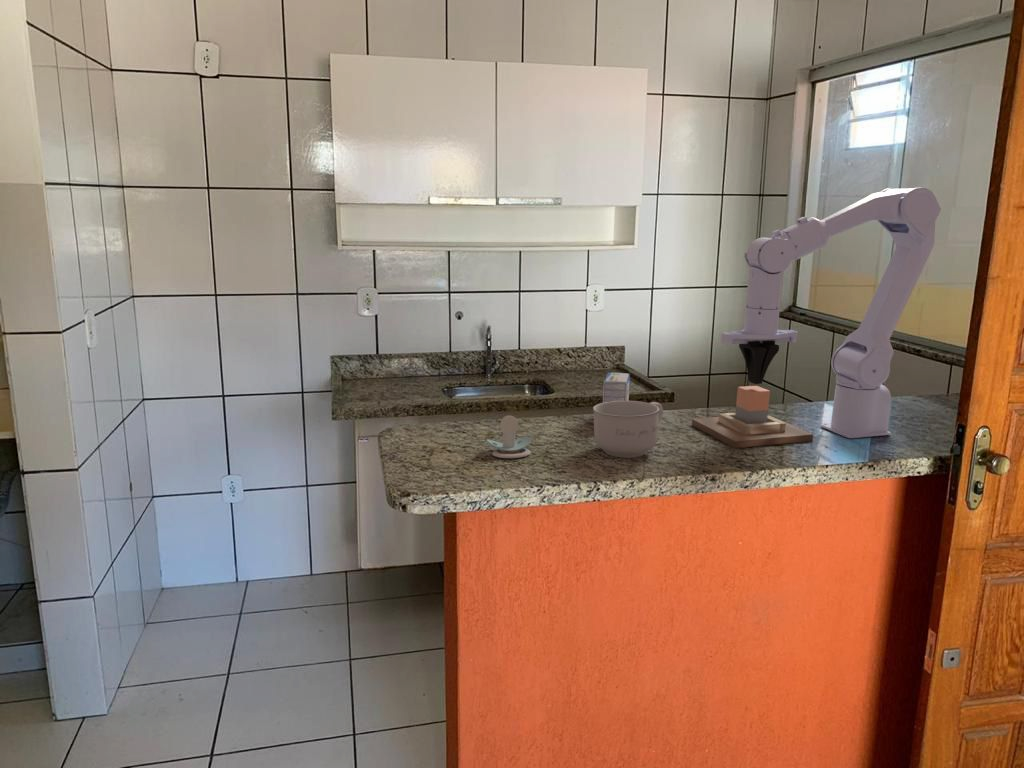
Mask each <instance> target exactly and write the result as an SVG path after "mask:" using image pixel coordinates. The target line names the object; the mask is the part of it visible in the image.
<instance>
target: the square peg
mask: <svg viewBox="0 0 1024 768" xmlns="http://www.w3.org/2000/svg"><path fill="white" fill-rule="evenodd" d="M736 393H737V394H736V405H735V412H734V413H735V419H737V420H739V421H742V422H744V423H746V424H757V423H767V417H768V415H769V406H770V397H771V390H769V389H767V388H763V387H762V386H758V385H747V386H737V392H736Z"/></svg>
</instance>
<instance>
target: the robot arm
mask: <svg viewBox="0 0 1024 768" xmlns="http://www.w3.org/2000/svg"><path fill="white" fill-rule="evenodd" d="M941 211H942V207H941V206H940V203H939V201H938V199H937V197H936V195H935V193H934V192H933V191H932V190H930V189H929V188H926V187H923V186H921V187H919V186H918V187H914V188H896V187H888V188H885V189H883V190H881V191H879V192H878V191H877V192H874V193H870V194H869V195H868V196H866V197H864V198H862V199H860V200H857V201H856V202H854V203H852V204H850V205H848V206H846V207H844V208H842V209H840V210H838V211H836V212H835V213H832V214H830V215H828V216H826V217H825V218H823V219H818V218H816V217H813V216H811V217H809V218H808V217H807V216H802V217H799V218H797V220H796V222H797V223H794V224H793V225H790V226H788V227H787V228H783V229H781V230H780V229H776V230H773V231H772V232H771V236H770V237H759V238H756V239H755V240H753V241H752V242H751V243H750V244H749V246H748V248H747V250H746V252H744V254H743V255H744V257H743V258H744V262H745V264H746V265H747V266H748V268H749V269H748V279H747V288H746V290H747V291H746V298H745V299H746V300H745V312H744V322H743V328H742V330H736V331H735V330H734V331H726V332H724V331H723V332H721V337H720V338H721V339H720V344H722V345H725V346H732V345H738V348H739V350H740V352H741V354H742V355H743V359H744V362H745V366H746V370H747V376H748V382H749V383H752V384H754V385H760V384H763V382H764V379H765V375H766V373H767V371H768V369H769V366H770V364H771V362H772V361H773V360H774V357H775V356H776V355H777V354H778V352H780V345H778V344H776V343H787V342H788V343H789V342H790V343H797V342H798V335H799V332H798V331H797V330H793V329H779V321H780V320H779V319H780V310H781V309H780V308H781V302H782V301H781V300H782V292H783V291H782V290H783V278H784V272H785V271H786V270H787V269H788V268H789V267H790V265H791V263H793V262H796V261H797V260H799V259H801V258H804V257H806V256H808V255H810V254H813V253H815V252H817V251H820V250H822V249H824V248H825V247H826V246H827V244H828V241H829V239H830V238H831V237H833V236H836V235H839V234H840V233H843V232H847V231H848V230H851V229H853V228H855V227H858V226H860V225H863V224H865V223H868V222H870V221H877V222H878V223H879V224H880V225H881V226H882V228H884V229H885V230H886V231H887V232H888V233H889V235H890V237H891V238H892V240H893V242H894V244H895V249H894V251H893V254H892V256H891V258H890V260H889V262H888V264H887V266H886V268H885V271H884V273H883V275H882V277H881V279H880V281H879V284H878V286H877V288H876V290H875V292H874V294H873V297H872V299H871V301H870V303H869V306H868V308H867V309H866V311H865V313H864V316H863V318H862V320H861V322H860V324H859V326H858V328H857V329H856V330H854V331H853V332H851V333H849V334H848V335H847V336H846V337H845V340H844V342H842V344H841V345H840V346H839V347H838V348H837V349H836V350H835V351H834V353H832V356H831V361H830V365H831V368H832V371H833V372H834V373H835V374H836V376H835V389H834V397H833V406H832V411H831V412H832V413H831V414H832V415H831V422H827V423H820V424H819V427H820V428H823V429H825V430H828V431H831V432H832V433H835V434H838V435H840V436H842V437H845V438H848V439H858V438H868V437H870V438H871V437H879V436H880V437H881V436H890V435H891V431H889V429H888V428H889V422H890V415H891V408H892V407H891V406H892V394H891V391H890V389H888V388H887V386H885V385H883V384H884V383H885V382H886V381H887V379H888V378H889V376H890V373H891V362H892V358H893V356H894V354H895V353H894V349H893V345H892V343H891V341H890V339H891V338H892V335H893V332H894V330H895V329H896V326H897V324H898V323H899V321H900V318H901V316H902V314H903V311H904V309H905V307H906V305H907V304H908V301H909V299H910V297H911V295H912V292H913V290H914V289H915V286H916V284H917V282H918V280H919V278H920V276H921V274H922V272H923V270H924V267H925V265H926V263H927V261H928V259H929V258H930V256H931V255H930V254H931V252H932V251H933V248H934V246H935V236H936V235H935V234H936V220H937V218H938V216H939V215H940V213H941Z"/></svg>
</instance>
